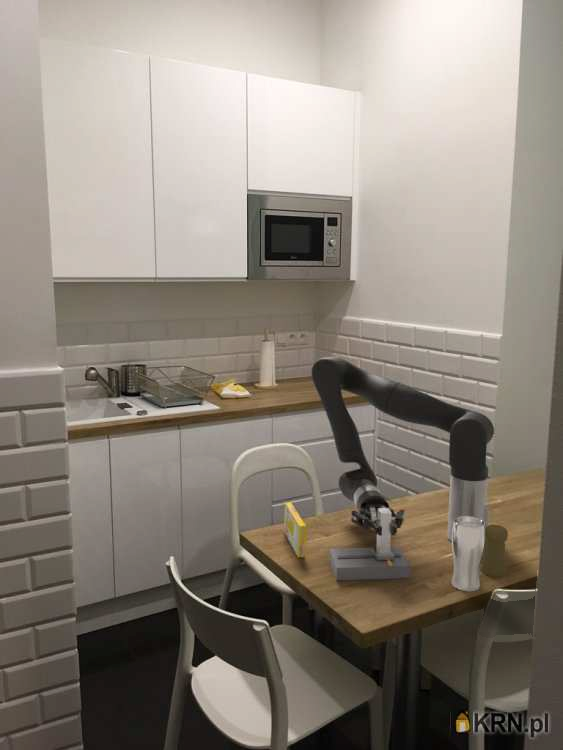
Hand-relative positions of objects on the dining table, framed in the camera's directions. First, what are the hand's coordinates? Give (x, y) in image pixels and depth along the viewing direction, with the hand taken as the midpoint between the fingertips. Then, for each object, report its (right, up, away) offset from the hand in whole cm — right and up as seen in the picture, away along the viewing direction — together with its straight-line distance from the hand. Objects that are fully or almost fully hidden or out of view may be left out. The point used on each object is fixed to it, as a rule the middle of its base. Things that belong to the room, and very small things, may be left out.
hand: (387, 531), depth 146 cm
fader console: (-4, -10, +4) cm, 11 cm away
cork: (+25, -10, +4) cm, 28 cm away
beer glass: (+17, -12, -3) cm, 21 cm away
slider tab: (0, -7, +4) cm, 8 cm away
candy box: (-21, -8, +18) cm, 28 cm away
